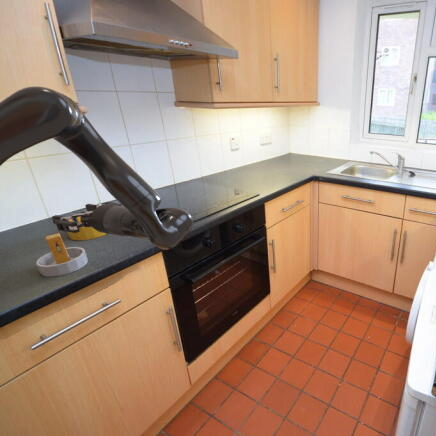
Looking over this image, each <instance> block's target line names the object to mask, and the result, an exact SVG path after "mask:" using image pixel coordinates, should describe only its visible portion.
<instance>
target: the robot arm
mask: <svg viewBox="0 0 436 436" xmlns="http://www.w3.org/2000/svg"><path fill="white" fill-rule="evenodd" d="M49 140H54V141H56V142H58V143H59V144H60V145H62V146H63V147H64V148H66V149H67V150H69V151H70V152H71V153H72V154H73V155H75V156H76V157H77V158H78V159H79V160H81V162H83V164H84V165H85V166H86V167H87V168H88V169H89V170H90V172H91V173H92V174H93V175H94V176H95V177H96V179H97V180H98V181H99V183H100V184H101V185H102V186H103V188H104V189H105V190H106V191H107V192H108V193H109V194H110V195H111V196H112V197H113V198H114V199H115V200H116V201H117V202H118V203H117V202H111V201H106V202H104V203H103V204H102V203H97V204H93V203H86V204H85V206H84V207H85V209H86V211H85V212H81V213H80V212H79V213H73V214H72V215H70V216H63V215H57V214H55V215H51V221H52V223H53V224H54V225H55V226H56V228H57V231H58V232H65V233H67V232H72V233H78V232H80V230H79V228H81V227H92V228H94V229H95V230H97V231H99V232H102V233H107V234H108V235H114V236H119V237H132V238H139V239H148V240H149V241H150V243H152V244H153V245H154V246H155V247H157V248H159V249H160V250H161V249H162V250H167V251H169V250H172V249H174V248H175V247H176V246H178V245H179V243H181V242H182V240H183V239H184V238H186V236H187V235H188V234H189V232H191V231H192V229H193V227H194V223H195V222H194V218H193V216H192V215H191V214H190V213H189V212H187V211H186V210H185V209H182V208H178V207H163V208H162V207H161V208H159V206H160V204H161V203H162V201H163V199H162V197H161V195H160V194H159V193H158V191H156V190H155V189H154V187H152V186H151V184H149V183H148V182H147V180H145V179H144V178H143V177H142V176H141V175H139V173H138V172H137V171H135V169H134V168H132V167H131V166H130V165H129V164H128V163H127V162H126V161H125V160H124V159H123V158H122V157H121V156H120V155H119V154H118V153H117V152H116V151H115V150H114V149H113V148H112V147H111V146H110V145H109V144H108V143H107V141H106V140H105V139H104V138H103V137H102V136H101V135H100V133H99V132H98V130H97V129H96V128H95V127H94V125H93V124H92V123H91V122H90V120H89V119H88V117H87V116H86V115H85V113H84V112H83V111H82V110H81V108H80V106H79V105H78V104H77V102H75V101H74V100H73V99H72V98H70V97H69V96H68V95H66V94H64V93H62V92H59V91H57V90H55V89H52V88H48V87H45V86H37V85H36V86H34V85H33V86H28V87H23V88H21V89H18V90H17V91H15V92H13V93H11V94H10V95H9V96H7V97H6V98H4V99H3V100H2V101H0V167H1V166H3V164H4V163H6V162H7V161H8V160H10V159H11V158H13V157H14V156H16V155H18V154H20V153H21V152H24V151H26V150H29V149H30V148H32V147H34V146H36V145H39V144H41V143H43V142H46V141H49ZM77 217H81V222H80V223H79V221H78V218H77ZM69 220H72V221H69ZM107 234H106V235H107Z"/></svg>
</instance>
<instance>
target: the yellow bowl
mask: <svg viewBox="0 0 436 436" xmlns="http://www.w3.org/2000/svg"><path fill="white" fill-rule="evenodd" d="M77 218H78V221H79V223H80V222H81V217H77ZM68 221H72V220H68ZM79 230H80V232H78V233H72V232H66V233H67V236H68V238H69V239H70V240H72V241H88V240H89V241H90V240H93V239H97V238H100V237H104V236H105V235H107V233H102V232H99V231H97V230H95V229H94V228H92V227H81V228H79Z"/></svg>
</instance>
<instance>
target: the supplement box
mask: <svg viewBox="0 0 436 436" xmlns="http://www.w3.org/2000/svg"><path fill="white" fill-rule="evenodd" d="M45 241H46V243H47V245H48V247H49V250H50V252H52V255H53V257H54V259H55V261H56V264H61V263H65V262H68V261H70V257H69V255H68V253H67V250H66V248H67V247H66V245H65V243H64V241H63V239H62V236H61V234H60V232H57V233H54V234H50V235H45Z"/></svg>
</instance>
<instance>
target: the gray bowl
mask: <svg viewBox="0 0 436 436" xmlns="http://www.w3.org/2000/svg"><path fill="white" fill-rule="evenodd" d="M65 248H66V250H67V253H68V255H69V257H70V261H68V262H65V263H61V264H56V261H55V259H54V257H53V255H52V252H51V251H50V252H47V253H46V254H44V255H42V256H40V257H39V258H38V259H37V260H36V263H35V265H36V267H37V269H38V271H39V273H40V274H41V276H43V277H48V278H54V277H60V276H65V275H69V274H71V273H74V272H76V271H78V270H80V269H83V268H84V267H85V266H87V264H88V262H89V257H88V255H87V252H86V250H85V249H84V248H83V247H81V246H79V247H78V246H73V247H72V246H71V247H65Z"/></svg>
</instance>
